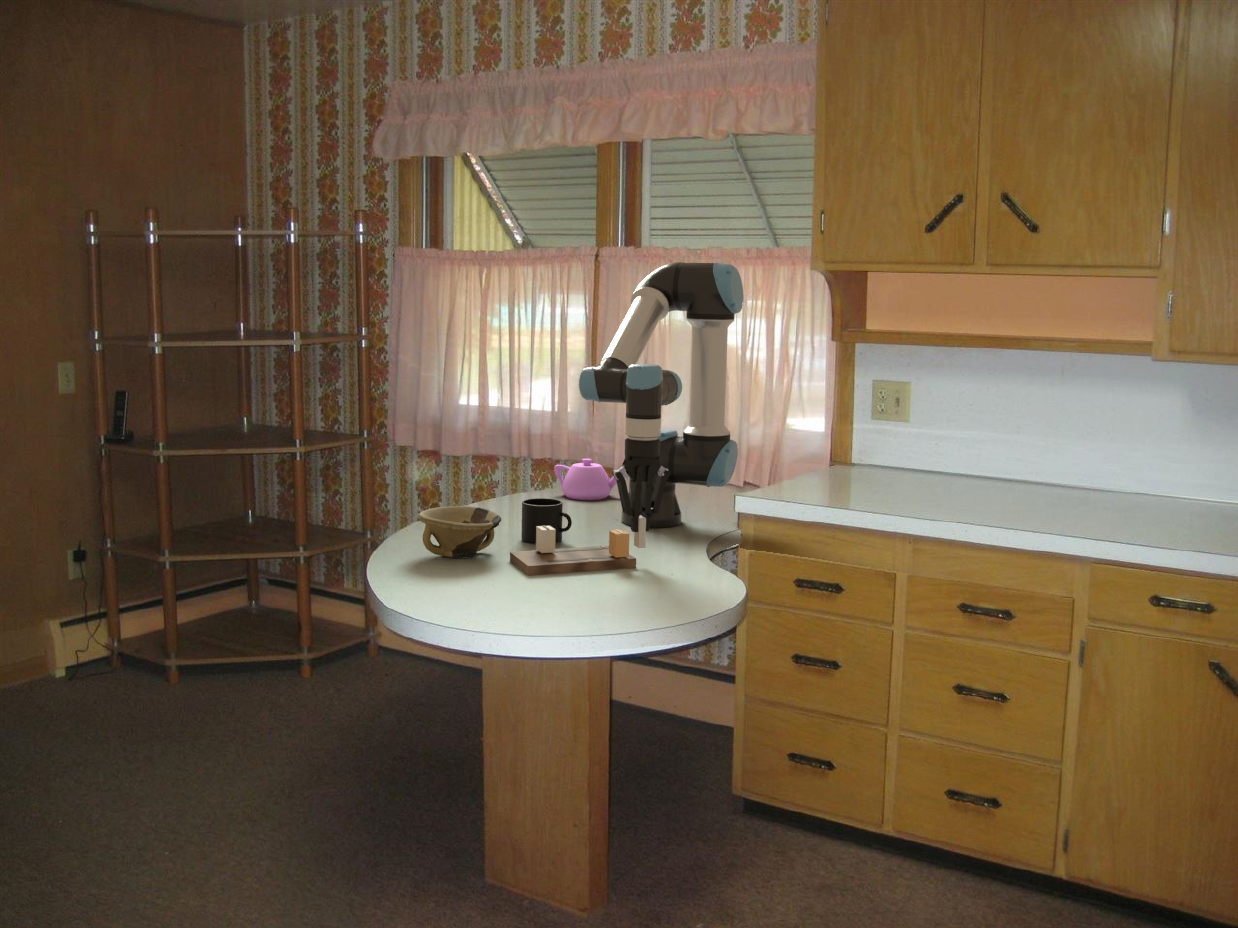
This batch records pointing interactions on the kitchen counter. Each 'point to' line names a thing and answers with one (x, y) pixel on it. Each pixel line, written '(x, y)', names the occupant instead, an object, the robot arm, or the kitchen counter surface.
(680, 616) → the kitchen counter surface
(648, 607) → the kitchen counter surface
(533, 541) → the mug
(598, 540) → the kitchen counter surface
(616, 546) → the orange fader knob
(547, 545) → the cream fader knob
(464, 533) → the bowl
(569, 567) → the console board
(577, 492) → the teapot
